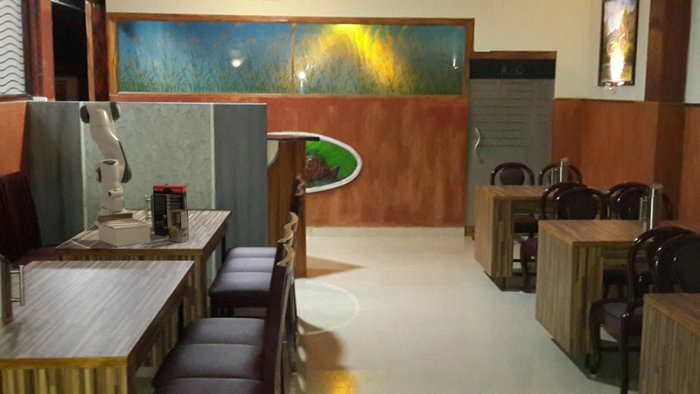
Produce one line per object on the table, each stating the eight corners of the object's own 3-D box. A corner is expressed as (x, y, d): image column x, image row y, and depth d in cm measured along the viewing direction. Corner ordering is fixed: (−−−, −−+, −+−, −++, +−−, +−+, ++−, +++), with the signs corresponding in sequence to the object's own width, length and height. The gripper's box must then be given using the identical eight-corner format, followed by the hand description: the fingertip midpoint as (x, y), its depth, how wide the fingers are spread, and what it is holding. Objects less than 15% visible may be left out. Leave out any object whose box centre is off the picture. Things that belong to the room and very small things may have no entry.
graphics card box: (188, 234, 403) (187, 184, 399) (184, 236, 397) (182, 186, 392) (158, 233, 405) (156, 184, 401) (153, 236, 398) (151, 186, 394)
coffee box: (189, 240, 387) (188, 210, 385) (181, 242, 381) (181, 212, 379) (175, 238, 391) (174, 208, 389) (167, 241, 385) (166, 210, 383)
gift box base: (99, 241, 385) (98, 224, 383) (131, 236, 397) (131, 220, 395) (116, 248, 368) (116, 230, 367) (150, 243, 380) (149, 226, 379)
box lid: (97, 223, 383) (97, 216, 383) (131, 219, 395) (130, 212, 395) (115, 230, 367) (115, 222, 366) (150, 225, 379) (150, 218, 378)
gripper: (97, 190, 394) (98, 215, 396) (113, 194, 379) (114, 220, 381) (108, 188, 398) (110, 214, 400) (124, 193, 383) (126, 219, 385)
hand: (112, 217), depth 391 cm, fingers closed
